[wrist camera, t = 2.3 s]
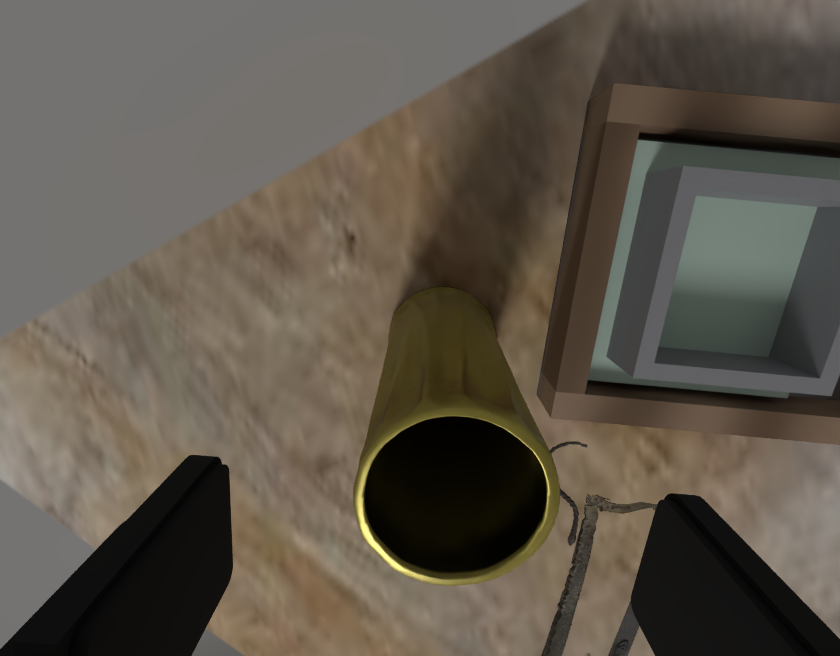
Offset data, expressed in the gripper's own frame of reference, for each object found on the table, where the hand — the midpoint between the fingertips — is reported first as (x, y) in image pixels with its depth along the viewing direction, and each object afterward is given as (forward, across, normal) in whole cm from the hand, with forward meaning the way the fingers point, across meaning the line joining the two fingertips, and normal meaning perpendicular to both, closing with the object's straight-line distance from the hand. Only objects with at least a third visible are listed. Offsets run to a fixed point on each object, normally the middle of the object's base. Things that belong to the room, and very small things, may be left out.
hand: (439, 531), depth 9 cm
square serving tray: (+15, -14, -5) cm, 21 cm away
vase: (+16, -1, 0) cm, 16 cm away
